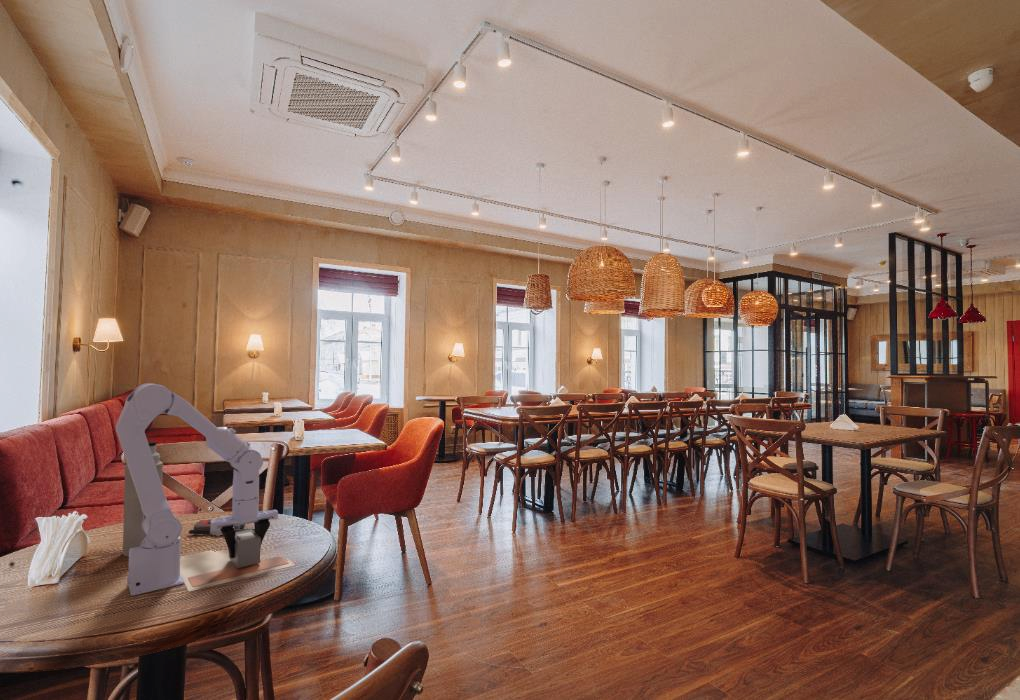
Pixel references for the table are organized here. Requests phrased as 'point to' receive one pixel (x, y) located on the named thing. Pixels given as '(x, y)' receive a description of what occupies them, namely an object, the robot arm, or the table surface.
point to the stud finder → (246, 548)
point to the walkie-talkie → (205, 527)
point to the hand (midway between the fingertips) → (244, 554)
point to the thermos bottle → (135, 507)
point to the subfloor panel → (221, 568)
